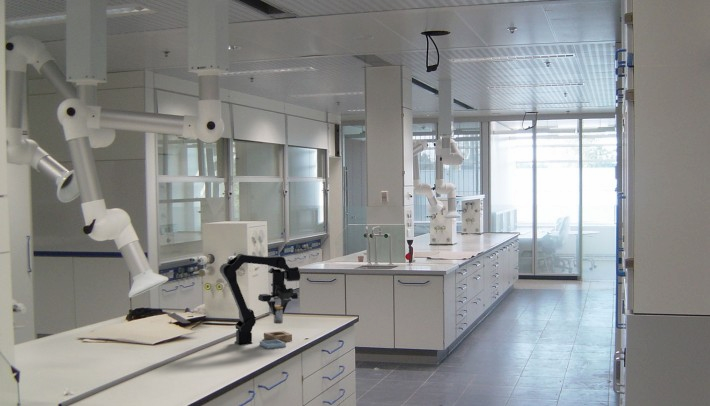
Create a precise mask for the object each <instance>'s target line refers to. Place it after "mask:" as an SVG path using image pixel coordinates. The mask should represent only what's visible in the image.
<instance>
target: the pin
mask: <svg viewBox="0 0 710 406" xmlns="http://www.w3.org/2000/svg"><path fill="white" fill-rule="evenodd" d="M283 323H284V314H283V306H282V305H281V304H280V305H277V304H275V315H273V324H277V325H278V324H279V325H280V324H283Z"/></svg>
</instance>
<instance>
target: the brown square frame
mask: <svg viewBox="0 0 710 406" xmlns="http://www.w3.org/2000/svg"><path fill="white" fill-rule="evenodd" d="M276 339H277V340H280V341H282V342H285V343H287V342H292V341H293V334H291V333H289V332H287V331H285V330H279V331H270V332H269V331H268V332H264V333H263V340H264V341H267V340H276Z"/></svg>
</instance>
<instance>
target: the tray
mask: <svg viewBox="0 0 710 406" xmlns="http://www.w3.org/2000/svg"><path fill="white" fill-rule="evenodd" d="M286 343H287V342H282V341H280V340H277V339H276V340H261V341H259V346H261V347H262V348H265V349H267V350H271V349H272V350H273V349H280V348H286V345H287V344H286Z"/></svg>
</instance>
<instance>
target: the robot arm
mask: <svg viewBox="0 0 710 406" xmlns="http://www.w3.org/2000/svg"><path fill="white" fill-rule="evenodd" d="M244 264H255V265H263V266H264V265H266V266H270V267H271V268H270V269H269V270H268V271H267V272H268V273H270V274H272V276H271V277H272V279H271V280H272V281H271V282H272V283H270V285H271V287H272V288H271V289H272V291H271V292H270V294H268V293H262V294H261V293H260V294H258V298H257V300H258V301H260V302H267V305H268V306H269V308H270V311H271V314H272V315H273V316H274V315H275V305H276V301H275V300H276V299H280V305H282V306H283V315H284V314H285V311H286V309H287V308H286V307H287V305H288V303H289V302H291V301H292V300H295V299H299V294H298V292H297V291H296V292H295V291H294V288H293V287H292V288H291V287H289V288H287V286H286V284H285V281H286V282H298V281H300V279H301V273H300V270H299V267H298V266H293V267H289V265H288V264H287V260H286V258H285V257H284V256H280V255H276V254H275V255H267V256H264V255H263V256H262V255H260V256H259V255H250V254H244V253H239V254H237V255H235V256H234V258H232V259H229V261H227V262H226V263H222V264H221V265H220V266H219V273H220V274H221V276H222V278H223V279H224V281H226V283H227V285H228V287H229V290H230V292H231V295H232V297H233V299H234V302H235V305H236V307H237V311H238V318H239V320H238V321H237V322H236V323H235V325H234V326H235V329H236V330H235V341H234V343H235V344H237V345H239V346H243V345H252V344H253V342H252V341H253V333H252V329H253V327H254V326H255V324H256V323H257V322H256V319H257V317H256V316H255V313H254V310H253V309H251V308H249V307H248V306H247V303H246V301H245V298H244V296H243V293H242V291H241V288H240V286H239V283H238V280H237V279H238V278H237V277H238V276H237V271H238V270H239V269H240V268H241V267H242V265H244ZM275 268H276V269H275Z"/></svg>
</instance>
